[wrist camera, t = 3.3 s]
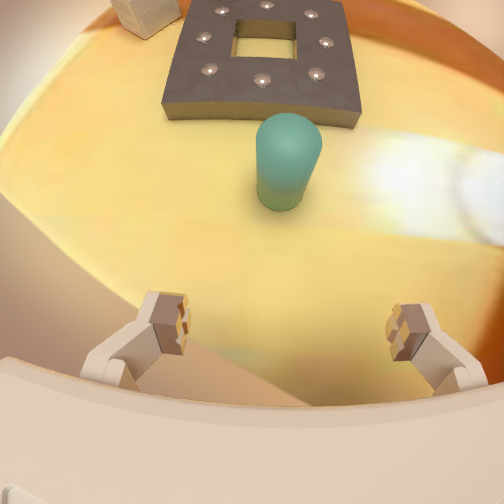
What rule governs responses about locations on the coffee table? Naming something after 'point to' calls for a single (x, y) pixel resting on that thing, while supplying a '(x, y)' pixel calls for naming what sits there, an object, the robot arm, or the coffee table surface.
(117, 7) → the product box
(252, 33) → the rosette socket
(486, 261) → the coffee table surface
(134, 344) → the robot arm
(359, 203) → the coffee table surface
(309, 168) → the teal cylinder
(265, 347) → the coffee table surface
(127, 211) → the coffee table surface
